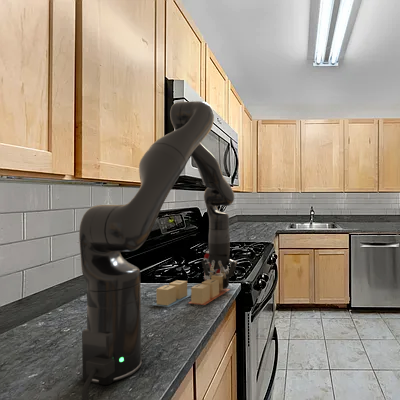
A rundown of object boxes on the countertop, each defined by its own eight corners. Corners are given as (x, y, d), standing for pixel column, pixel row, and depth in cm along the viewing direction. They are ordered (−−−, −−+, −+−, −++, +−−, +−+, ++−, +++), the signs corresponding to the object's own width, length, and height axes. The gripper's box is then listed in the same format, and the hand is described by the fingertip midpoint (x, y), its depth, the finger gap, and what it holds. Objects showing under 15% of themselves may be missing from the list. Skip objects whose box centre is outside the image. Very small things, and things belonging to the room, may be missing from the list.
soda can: (211, 283, 122) (210, 253, 122) (200, 280, 126) (200, 251, 126) (224, 279, 127) (224, 251, 127) (214, 277, 131) (214, 249, 131)
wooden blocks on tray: (204, 305, 98) (204, 289, 98) (187, 303, 99) (187, 287, 99) (230, 289, 114) (230, 275, 114) (215, 288, 116) (215, 274, 116)
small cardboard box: (221, 290, 110) (221, 276, 110) (211, 289, 111) (211, 275, 111) (227, 287, 114) (227, 273, 114) (217, 286, 115) (217, 272, 115)
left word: (168, 307, 96) (168, 290, 96) (151, 305, 98) (151, 289, 98) (201, 290, 113) (201, 276, 113) (186, 289, 115) (186, 274, 115)
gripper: (196, 241, 110) (196, 289, 111) (232, 243, 107) (232, 292, 107) (207, 239, 118) (207, 283, 118) (241, 240, 114) (241, 286, 114)
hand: (219, 287), depth 113 cm, fingers closed on small cardboard box, 4 cm apart
